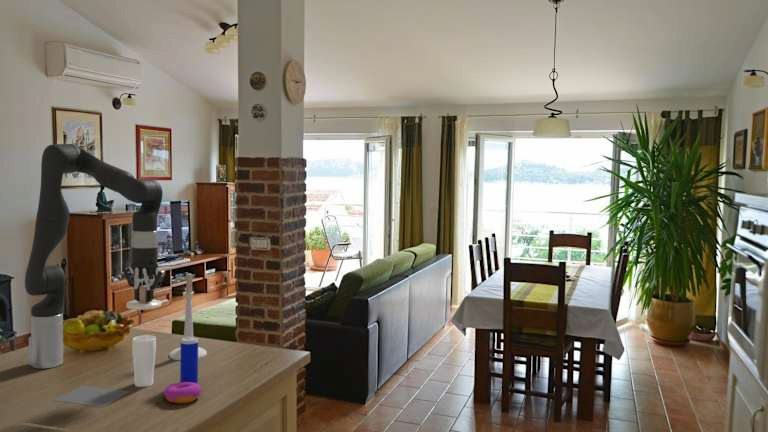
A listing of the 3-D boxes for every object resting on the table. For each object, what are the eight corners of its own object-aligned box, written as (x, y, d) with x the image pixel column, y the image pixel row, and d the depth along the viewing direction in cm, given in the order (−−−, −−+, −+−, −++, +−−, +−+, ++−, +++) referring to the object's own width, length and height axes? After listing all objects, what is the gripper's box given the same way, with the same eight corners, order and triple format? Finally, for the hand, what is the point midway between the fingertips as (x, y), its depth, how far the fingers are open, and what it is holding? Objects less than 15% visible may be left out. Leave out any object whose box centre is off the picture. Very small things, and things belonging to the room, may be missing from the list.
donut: (203, 393, 182) (204, 378, 181) (197, 406, 172) (197, 390, 171) (168, 393, 181) (169, 378, 180) (160, 406, 171) (160, 391, 170)
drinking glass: (147, 390, 181) (147, 342, 180) (127, 388, 183) (127, 340, 182) (160, 382, 188) (160, 336, 187) (140, 380, 189) (140, 334, 188)
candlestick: (200, 361, 210) (201, 276, 207) (163, 359, 210) (164, 275, 208) (211, 350, 223) (212, 270, 220) (177, 348, 223) (177, 269, 220)
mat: (53, 402, 170) (53, 400, 170) (83, 387, 182) (83, 385, 182) (102, 409, 167) (102, 407, 167) (129, 393, 179) (129, 391, 179)
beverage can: (201, 384, 188) (201, 337, 187) (190, 389, 183) (191, 341, 182) (187, 381, 190) (187, 335, 189) (176, 387, 185) (177, 339, 184)
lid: (119, 308, 180) (119, 288, 179) (139, 301, 189) (139, 282, 189) (149, 310, 177) (149, 291, 177) (168, 303, 187) (168, 284, 187)
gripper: (116, 245, 180) (116, 302, 181) (158, 248, 177) (157, 306, 178) (131, 242, 187) (131, 297, 188) (172, 245, 184) (171, 300, 185)
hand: (144, 301), depth 183 cm, fingers closed on lid, 2 cm apart
